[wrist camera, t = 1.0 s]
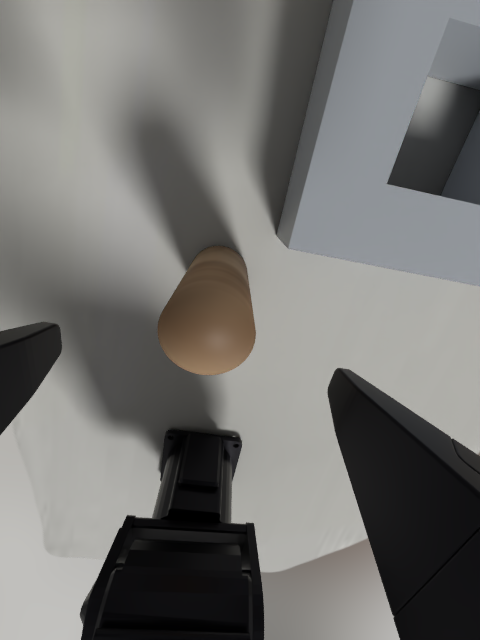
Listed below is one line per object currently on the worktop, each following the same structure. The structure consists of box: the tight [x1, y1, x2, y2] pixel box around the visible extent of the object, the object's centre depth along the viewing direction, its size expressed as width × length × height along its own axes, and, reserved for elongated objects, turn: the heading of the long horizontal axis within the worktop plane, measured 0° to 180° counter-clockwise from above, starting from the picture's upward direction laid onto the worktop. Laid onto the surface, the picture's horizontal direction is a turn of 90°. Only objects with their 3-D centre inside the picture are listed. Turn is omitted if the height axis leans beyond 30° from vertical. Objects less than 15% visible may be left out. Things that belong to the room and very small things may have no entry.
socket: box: [277, 0, 480, 286], centre depth 12 cm, size 12×12×4 cm
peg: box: [158, 246, 256, 375], centre depth 14 cm, size 4×4×8 cm
